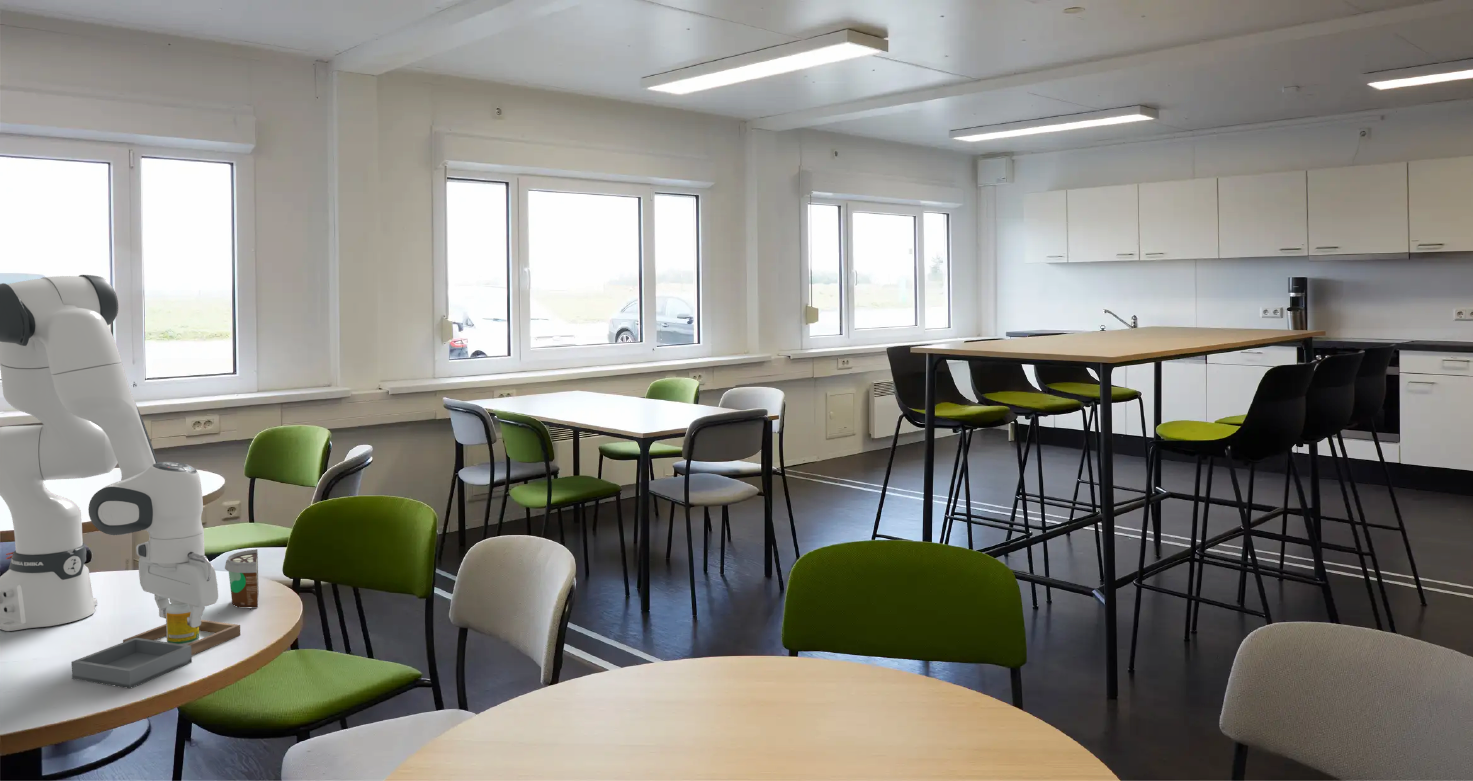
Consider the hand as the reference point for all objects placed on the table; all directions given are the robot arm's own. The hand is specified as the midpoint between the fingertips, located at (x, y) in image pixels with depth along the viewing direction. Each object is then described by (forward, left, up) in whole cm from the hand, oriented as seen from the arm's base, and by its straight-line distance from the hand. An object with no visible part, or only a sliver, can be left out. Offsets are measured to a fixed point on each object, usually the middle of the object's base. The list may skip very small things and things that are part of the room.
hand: (180, 621), depth 184 cm
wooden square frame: (0, +1, -4) cm, 4 cm away
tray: (+3, -13, -4) cm, 14 cm away
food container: (-8, +24, -5) cm, 25 cm away
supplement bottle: (0, +1, -5) cm, 5 cm away
